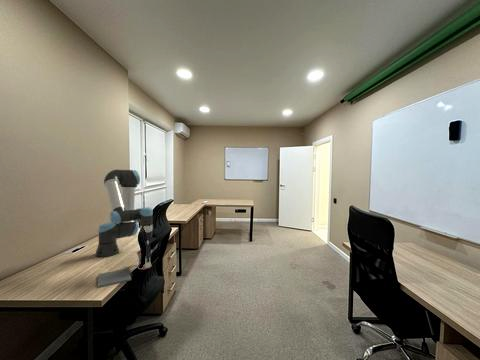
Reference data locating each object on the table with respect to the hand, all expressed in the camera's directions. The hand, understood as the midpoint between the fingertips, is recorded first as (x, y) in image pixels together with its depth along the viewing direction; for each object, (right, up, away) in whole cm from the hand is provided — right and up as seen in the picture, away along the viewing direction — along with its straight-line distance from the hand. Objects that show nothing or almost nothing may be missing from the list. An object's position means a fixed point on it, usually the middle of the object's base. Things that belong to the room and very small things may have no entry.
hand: (145, 263), depth 139 cm
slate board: (-11, -2, -16) cm, 19 cm away
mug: (0, -3, 0) cm, 3 cm away
